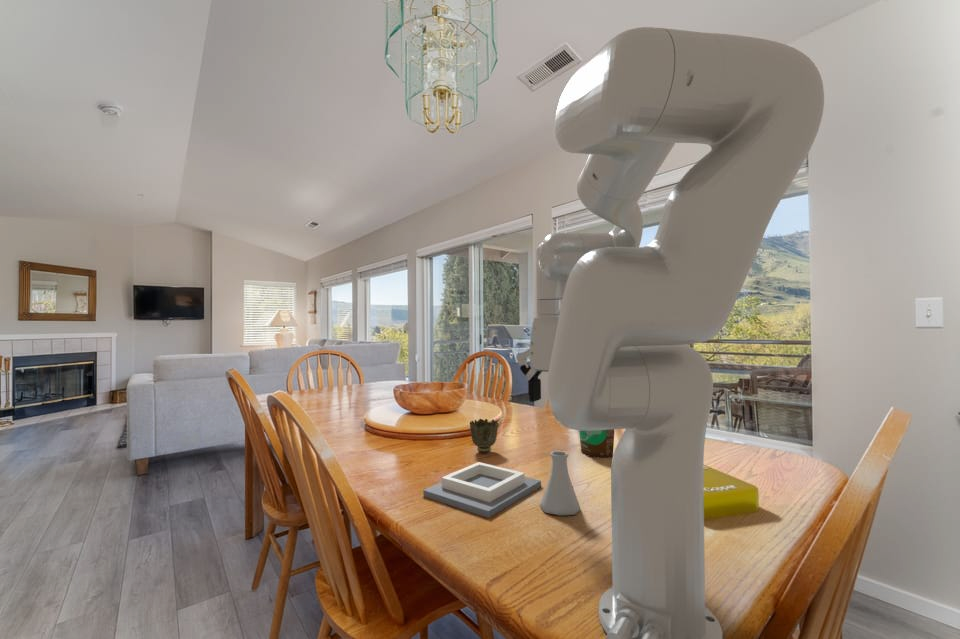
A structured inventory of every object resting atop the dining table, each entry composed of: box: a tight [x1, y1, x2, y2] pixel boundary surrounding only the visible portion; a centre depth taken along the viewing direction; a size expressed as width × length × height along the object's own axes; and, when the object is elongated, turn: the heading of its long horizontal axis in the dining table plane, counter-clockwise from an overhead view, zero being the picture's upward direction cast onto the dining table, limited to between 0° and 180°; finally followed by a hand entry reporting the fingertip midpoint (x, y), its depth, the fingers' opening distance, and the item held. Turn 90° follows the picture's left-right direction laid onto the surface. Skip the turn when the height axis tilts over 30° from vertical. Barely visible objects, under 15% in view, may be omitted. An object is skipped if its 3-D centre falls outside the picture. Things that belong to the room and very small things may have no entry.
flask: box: [539, 450, 581, 516], centre depth 79 cm, size 7×7×10 cm
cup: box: [469, 418, 499, 454], centre depth 113 cm, size 8×7×8 cm
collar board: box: [422, 461, 542, 519], centre depth 87 cm, size 18×16×3 cm
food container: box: [578, 429, 616, 459], centre depth 111 cm, size 12×6×10 cm, turn 25°
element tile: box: [703, 464, 760, 521], centre depth 82 cm, size 15×15×5 cm
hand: (558, 403), depth 79 cm, fingers open, 9 cm apart
